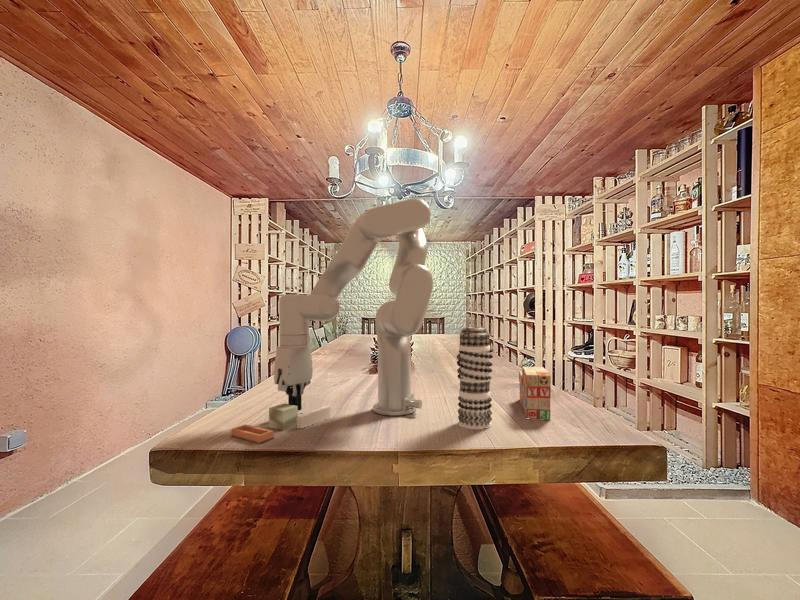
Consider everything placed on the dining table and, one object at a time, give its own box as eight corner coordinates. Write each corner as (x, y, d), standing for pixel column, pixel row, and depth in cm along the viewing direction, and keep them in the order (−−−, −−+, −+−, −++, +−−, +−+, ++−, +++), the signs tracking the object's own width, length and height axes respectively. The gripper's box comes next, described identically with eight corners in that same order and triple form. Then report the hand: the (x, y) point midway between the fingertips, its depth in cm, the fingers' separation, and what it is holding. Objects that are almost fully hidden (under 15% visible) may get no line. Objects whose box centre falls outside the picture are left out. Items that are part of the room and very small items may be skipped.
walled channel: (330, 417, 115) (330, 406, 115) (301, 428, 105) (301, 417, 105) (300, 411, 121) (300, 401, 121) (270, 422, 111) (270, 410, 111)
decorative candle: (499, 428, 104) (498, 328, 104) (463, 431, 103) (462, 329, 102) (485, 418, 113) (485, 325, 113) (452, 420, 112) (452, 326, 111)
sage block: (297, 425, 108) (297, 405, 108) (283, 430, 104) (282, 410, 104) (283, 422, 111) (283, 403, 111) (269, 427, 107) (268, 407, 107)
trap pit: (273, 438, 99) (273, 431, 98) (260, 443, 95) (259, 436, 95) (245, 431, 104) (245, 424, 104) (231, 436, 100) (231, 428, 100)
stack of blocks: (519, 399, 133) (518, 361, 133) (539, 400, 132) (539, 361, 132) (526, 420, 112) (526, 374, 112) (551, 421, 111) (550, 374, 111)
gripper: (304, 337, 119) (304, 401, 120) (262, 342, 107) (262, 414, 107) (324, 338, 115) (324, 405, 116) (283, 344, 103) (283, 419, 103)
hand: (295, 409), depth 111 cm, fingers closed
